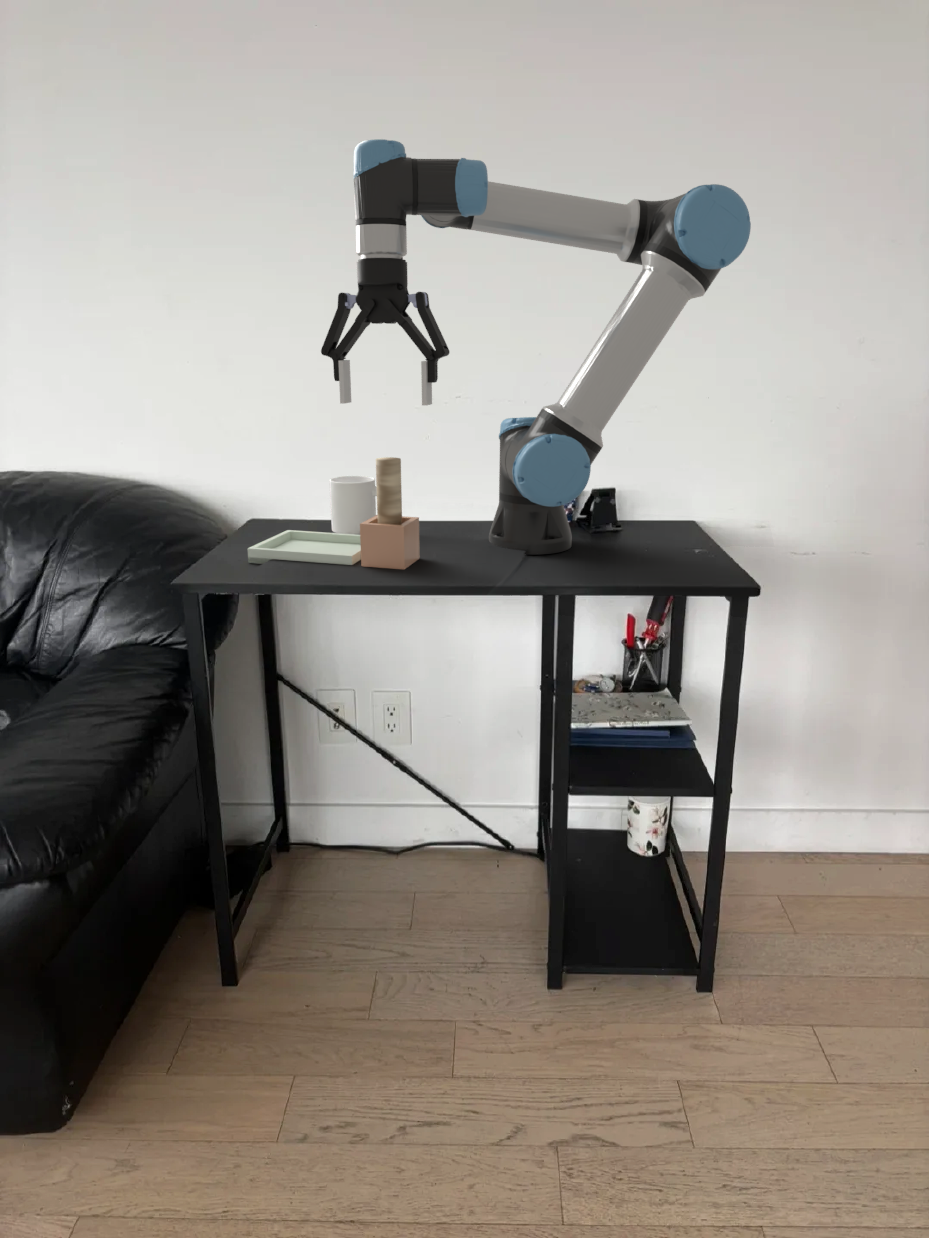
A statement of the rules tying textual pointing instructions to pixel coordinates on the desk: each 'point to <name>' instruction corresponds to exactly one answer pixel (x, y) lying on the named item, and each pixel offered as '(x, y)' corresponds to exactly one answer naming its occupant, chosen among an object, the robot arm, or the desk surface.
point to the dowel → (389, 490)
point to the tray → (308, 548)
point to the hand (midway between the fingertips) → (385, 404)
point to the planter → (389, 543)
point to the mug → (351, 502)
